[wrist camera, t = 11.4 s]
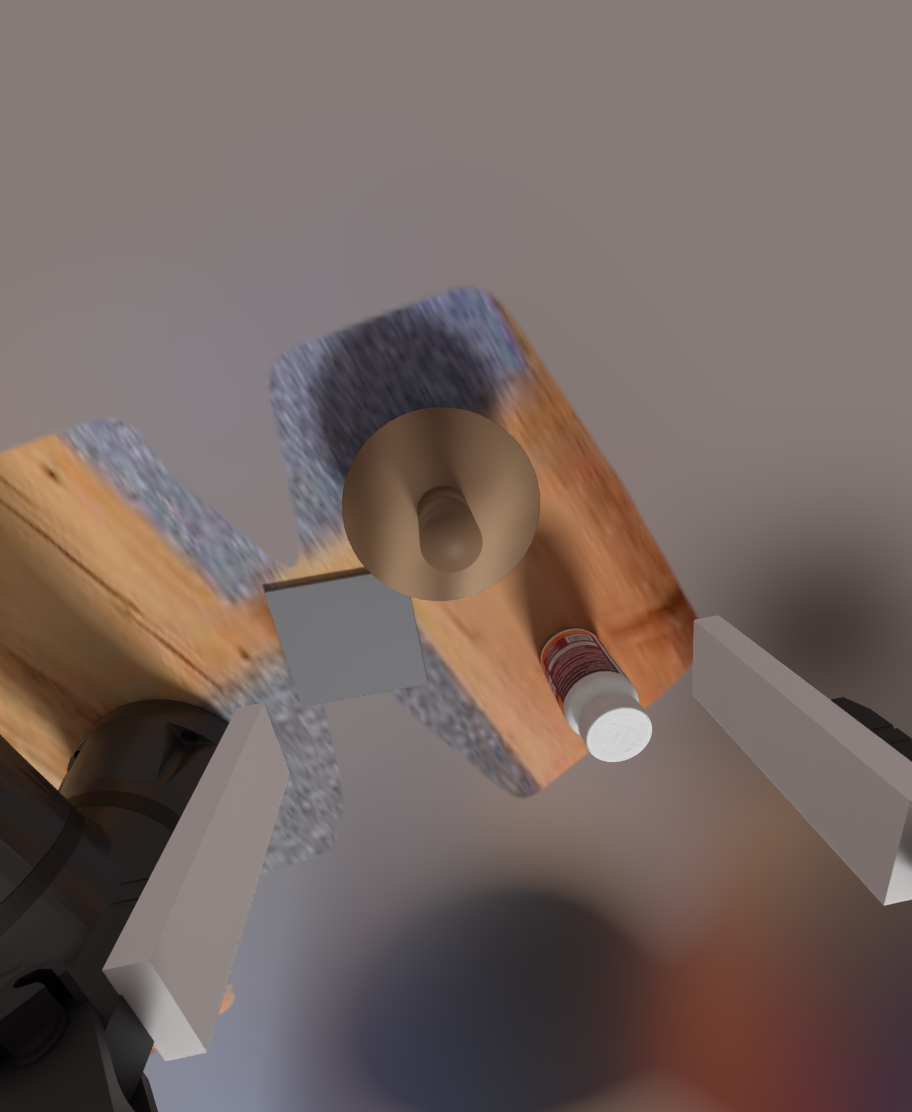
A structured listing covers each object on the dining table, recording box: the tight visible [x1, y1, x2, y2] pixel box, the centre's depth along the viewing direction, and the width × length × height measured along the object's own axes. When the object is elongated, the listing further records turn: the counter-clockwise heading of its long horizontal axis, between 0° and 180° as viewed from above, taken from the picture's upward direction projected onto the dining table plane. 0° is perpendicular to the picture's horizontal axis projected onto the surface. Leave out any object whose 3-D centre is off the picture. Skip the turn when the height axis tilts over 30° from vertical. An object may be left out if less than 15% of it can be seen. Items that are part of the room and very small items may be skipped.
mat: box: [264, 572, 428, 707], centre depth 43 cm, size 12×12×1 cm
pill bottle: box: [541, 628, 652, 762], centre depth 41 cm, size 6×6×11 cm
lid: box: [342, 407, 540, 601], centre depth 31 cm, size 14×14×8 cm
